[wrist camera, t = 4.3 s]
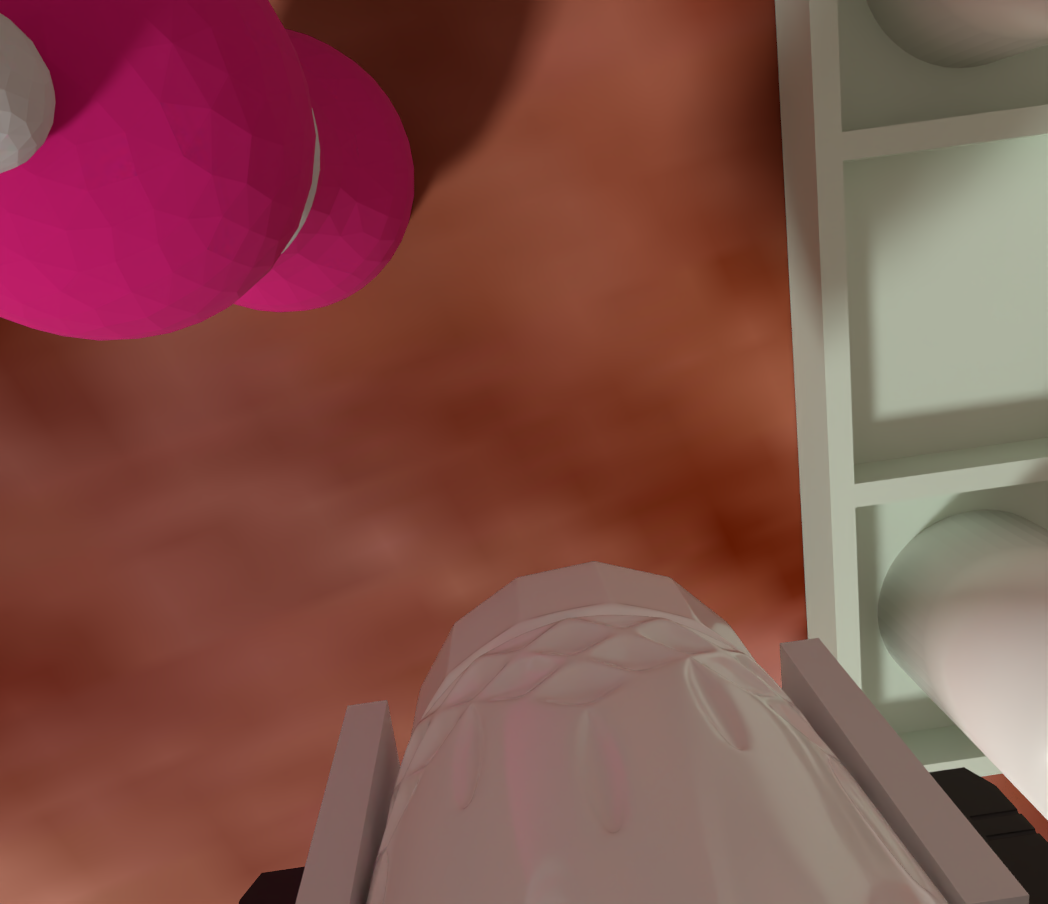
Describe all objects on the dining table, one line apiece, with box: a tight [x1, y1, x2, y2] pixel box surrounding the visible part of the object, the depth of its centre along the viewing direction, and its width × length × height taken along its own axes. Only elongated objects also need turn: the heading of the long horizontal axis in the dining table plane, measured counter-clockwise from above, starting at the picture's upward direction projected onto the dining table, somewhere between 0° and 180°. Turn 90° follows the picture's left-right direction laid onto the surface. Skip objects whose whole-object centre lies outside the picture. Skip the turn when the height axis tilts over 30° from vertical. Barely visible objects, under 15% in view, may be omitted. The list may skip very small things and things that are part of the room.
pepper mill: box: [0, 0, 414, 340], centre depth 18 cm, size 7×7×20 cm
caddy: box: [775, 0, 1048, 777], centre depth 28 cm, size 33×12×3 cm, turn 7°
